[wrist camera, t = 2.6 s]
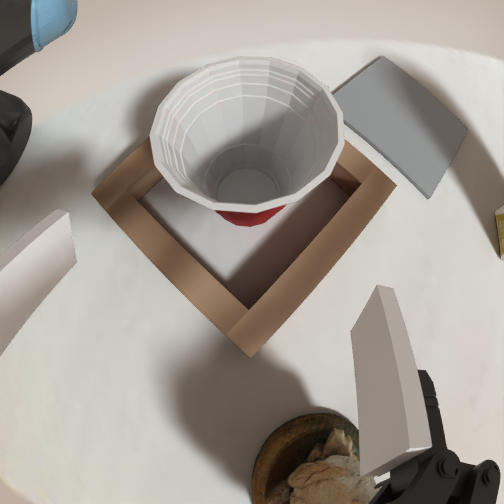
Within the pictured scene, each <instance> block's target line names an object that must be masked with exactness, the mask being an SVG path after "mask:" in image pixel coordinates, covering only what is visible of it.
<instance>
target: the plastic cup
mask: <svg viewBox="0 0 504 504" xmlns="http://www.w3.org/2000/svg"><path fill="white" fill-rule="evenodd" d="M150 141H151V147H152V153H153V159H154V164H155V166H156V168H157V169H158V170H159V171H160V173H161V174H162V175H163V177H164V178H165V179H166V180H167V182H168V183H169V184H170V185H171V187H172V188H173V189H174V191H175V192H177V193H179V194H181V195H183V196H185V197H187V198H189V199H191V200H193V201H195V202H197V203H199V204H201V205H203V206H205V207H207V208H209V209H211V210H215V211H216V212H217V213H218V214H220V215H221V216H222V217H223V218H224V219H225V220H227V221H229V222H231V223H233V224H235V225H238V226H248V227H251V226H255V225H259V224H262V223H265V222H266V221H267V220H269V219H270V218H271V217H272V216H274V215H275V214H276V213H277V212H279V211H280V210H281V209H283V208H284V207H285V206H286V205H287V204H289V203H292V202H296V201H298V200H300V199H301V198H302V197H303V196H305V195H306V194H307V193H308V192H310V191H311V190H312V189H313V188H315V187H316V186H317V185H318V184H320V183H321V182H322V181H323V180H325V179H326V178H327V177H328V176H330V174H331V172H332V170H333V168H334V166H335V164H336V162H337V160H338V157H339V155H340V153H341V151H342V149H343V147H344V145H345V140H344V122H343V113H342V111H341V109H340V107H339V105H338V104H337V102H336V100H335V99H334V97H333V95H332V93H331V92H330V90H329V88H328V87H327V86H326V85H325V84H323V83H322V82H321V81H319V80H318V79H317V78H316V77H314V76H313V75H312V74H310V73H309V72H308V71H306V70H305V69H304V68H302V67H299V66H296V65H293V64H290V63H287V62H284V61H281V60H278V59H275V58H272V57H234V58H230V59H226V60H222V61H218V62H215V63H211V64H207V65H205V66H203V67H202V68H200V69H198V70H197V71H195V72H193V73H192V74H190V75H188V76H187V77H185V78H184V79H182V80H180V81H179V82H178V83H177V84H176V85H175V86H174V88H173V89H172V90H171V91H170V92H169V94H168V95H167V96H166V97H165V98H164V100H163V101H162V102H161V103H160V105H159V106H158V109H157V112H156V115H155V118H154V121H153V125H152V128H151V131H150Z"/></svg>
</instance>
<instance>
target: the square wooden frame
mask: <svg viewBox="0 0 504 504" xmlns="http://www.w3.org/2000/svg"><path fill="white" fill-rule="evenodd" d="M344 140H345V139H344ZM329 177H330V178H331V179H332V180H333V181H334V182H335V183H337V184H338V185H339V186H340V187H341V188H342V189H343V190H345V191H346V192H347V193H348V194H349V195H350V198H349V199H348V200H347V201H346V202H345V203H344V205H343V206H342V207H341V208H340V209H339V210H338V212H337V213H336V214H335V215H334V216H333V217H332V218H331V220H330V221H329V222H328V223H327V224H326V225H325V226H324V228H323V229H322V230H321V231H320V232H319V233H318V234H317V236H316V237H315V238H314V239H313V240H312V241H311V242H310V243H309V245H308V246H307V247H306V248H305V249H304V250H303V251H302V252H301V254H300V255H299V256H298V257H297V258H296V259H295V260H294V261H293V262H292V263H291V265H290V266H289V267H288V268H287V269H286V270H285V271H284V272H283V273H282V274H281V276H280V277H279V278H278V279H277V280H276V281H275V282H274V283H273V284H272V285H271V286H270V288H269V289H268V290H267V291H266V292H265V293H264V294H263V295H262V296H261V297H260V298H259V299H258V301H257V302H256V303H255V304H254V305H253V306H252V307H251V308H250V309H249V310H248V309H247V308H246V307H245V306H244V305H243V304H242V303H240V302H239V301H238V300H237V299H236V298H235V297H234V296H233V295H232V294H231V293H230V292H229V291H228V290H227V289H226V288H225V287H223V286H222V285H221V284H220V283H219V282H218V281H217V280H216V279H215V278H214V277H213V276H212V275H211V274H210V273H209V272H208V271H207V270H206V269H205V268H204V267H203V266H202V265H201V264H199V263H198V262H197V261H196V260H195V259H194V258H193V257H192V256H191V255H190V254H189V253H188V252H187V251H186V250H185V249H184V248H183V247H182V246H181V245H180V244H179V243H178V242H177V241H176V240H175V239H174V238H173V237H172V236H171V235H170V234H169V233H168V232H167V231H166V230H165V229H164V228H163V227H162V226H161V225H160V224H159V223H158V222H157V221H156V220H155V219H154V218H153V217H152V216H151V215H150V214H149V213H148V212H147V211H146V210H145V209H144V207H143V206H142V205H141V204H140V203H139V202H138V201H139V200H140V199H141V198H142V197H143V196H144V195H145V194H146V193H147V192H148V191H149V190H150V189H151V188H152V187H153V186H154V185H155V184H156V183H157V182H158V181H159V180H160V179H161V178H163V175H162V174H161V173H160V171H159V170H158V169H157V168H156V166H155V164H154V159H153V153H152V147H151V141H150V137H149V138H147V139H146V140H145V141H144V142H143V143H142V144H141V145H140V146H139V147H137V148H136V149H135V150H134V151H133V152H132V153H131V154H130V155H129V156H128V157H127V158H126V159H125V160H124V161H122V162H121V163H120V164H119V165H118V166H117V167H116V168H115V169H114V170H113V171H112V172H111V173H110V174H109V175H108V176H107V177H106V178H105V179H104V180H103V181H102V182H101V183H100V184H99V186H98V187H97V188H96V189H95V190H94V191H93V192H92V193H91V194H92V195H93V197H94V198H95V199H96V200H97V201H98V202H99V204H100V205H101V206H102V207H103V208H104V210H105V211H106V212H107V213H108V214H109V215H110V217H111V218H112V219H113V220H114V221H115V222H116V223H117V225H118V226H119V227H120V228H121V229H122V230H123V231H124V232H125V234H126V235H127V236H128V237H129V238H130V239H131V240H132V241H133V242H134V244H135V245H136V246H137V247H138V248H139V249H140V250H141V251H142V252H143V253H144V254H145V255H146V257H147V258H148V259H149V260H150V261H151V262H152V263H153V264H154V265H155V266H156V267H157V268H158V269H159V270H160V271H161V272H162V273H163V274H164V275H165V277H166V278H167V279H168V280H169V281H170V282H171V283H172V284H173V285H174V286H175V287H176V288H177V289H178V290H179V291H180V292H181V293H182V294H183V295H184V296H185V297H186V298H187V299H188V300H189V301H190V302H191V303H192V304H193V305H194V306H195V307H196V308H197V309H198V310H199V311H200V312H201V313H203V314H204V315H205V316H206V317H207V318H208V319H209V320H210V321H211V322H212V323H213V324H214V325H215V326H216V327H217V328H218V329H219V330H220V331H221V332H223V333H224V334H225V335H226V336H227V337H228V338H229V339H230V340H231V341H232V342H233V343H234V344H236V345H237V346H238V347H239V348H240V349H241V350H242V351H243V352H244V353H246V354H247V355H248V356H249V357H250V358H251V357H252V356H253V355H254V354H255V353H256V352H257V351H258V350H259V349H260V348H261V347H262V346H263V345H264V344H265V343H266V342H267V341H268V340H269V338H270V337H271V336H272V335H273V334H274V333H275V332H276V331H277V330H278V329H279V328H280V327H281V326H282V324H283V323H284V322H285V321H286V320H287V319H288V318H289V317H290V316H291V315H292V313H293V312H294V311H295V310H296V309H297V308H298V307H299V306H300V305H301V303H302V302H303V301H304V300H305V299H306V298H307V297H308V295H309V294H310V293H311V292H312V291H313V290H314V289H315V287H316V286H317V285H318V284H319V283H320V282H321V280H322V279H323V278H324V277H325V276H326V275H327V273H328V272H329V271H330V270H331V269H332V267H333V266H334V265H335V264H336V263H337V261H338V260H339V259H340V258H341V257H342V255H343V254H344V253H345V252H346V250H347V249H348V248H349V247H350V246H351V244H352V243H353V242H354V241H355V239H356V238H357V237H358V236H359V234H360V233H361V232H362V231H363V229H364V228H365V227H366V225H367V224H368V223H369V222H370V220H371V219H372V218H373V216H374V215H375V214H376V213H377V211H378V210H379V209H380V207H381V206H382V205H383V203H384V202H385V201H386V199H387V198H388V197H389V195H390V194H391V193H392V191H393V190H394V189H395V187H396V186H397V185H396V184H395V183H394V182H393V181H392V180H391V179H390V178H389V177H388V176H386V175H385V174H384V173H383V172H382V171H381V170H380V169H379V168H378V167H377V166H376V165H374V164H373V163H372V162H371V161H370V160H369V159H368V158H366V157H365V156H364V155H363V154H362V153H361V152H360V151H358V150H357V149H356V148H355V147H354V146H352V145H351V144H350V143H349V142H348V141H346V140H345V145H344V147H343V149H342V151H341V153H340V155H339V157H338V160H337V162H336V164H335V166H334V168H333V170H332V172H331V174H330V176H329Z"/></svg>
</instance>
